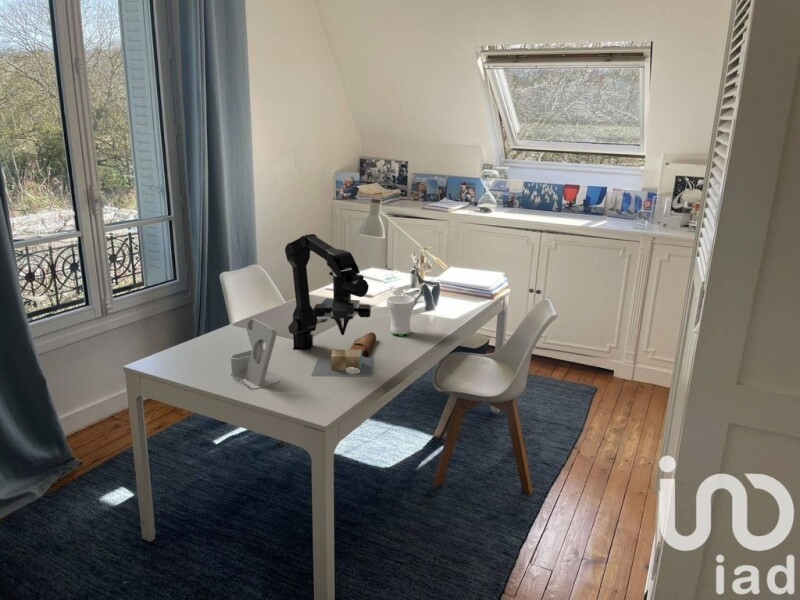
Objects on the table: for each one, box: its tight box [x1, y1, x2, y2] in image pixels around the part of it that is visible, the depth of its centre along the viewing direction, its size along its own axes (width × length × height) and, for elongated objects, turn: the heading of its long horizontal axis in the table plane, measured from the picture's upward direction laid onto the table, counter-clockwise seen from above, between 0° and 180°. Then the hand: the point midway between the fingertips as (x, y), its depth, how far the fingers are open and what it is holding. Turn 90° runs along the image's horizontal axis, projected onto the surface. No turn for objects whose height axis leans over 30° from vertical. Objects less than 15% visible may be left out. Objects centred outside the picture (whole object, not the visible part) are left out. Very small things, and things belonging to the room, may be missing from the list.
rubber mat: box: [311, 356, 375, 378], centre depth 206 cm, size 20×16×1 cm
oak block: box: [330, 349, 363, 370], centre depth 206 cm, size 5×6×10 cm
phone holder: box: [230, 318, 281, 391], centre depth 195 cm, size 17×10×18 cm, turn 41°
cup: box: [385, 294, 416, 337], centre depth 237 cm, size 11×11×14 cm
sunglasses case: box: [349, 331, 377, 358], centre depth 223 cm, size 18×7×7 cm, turn 174°
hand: (342, 334), depth 203 cm, fingers closed
